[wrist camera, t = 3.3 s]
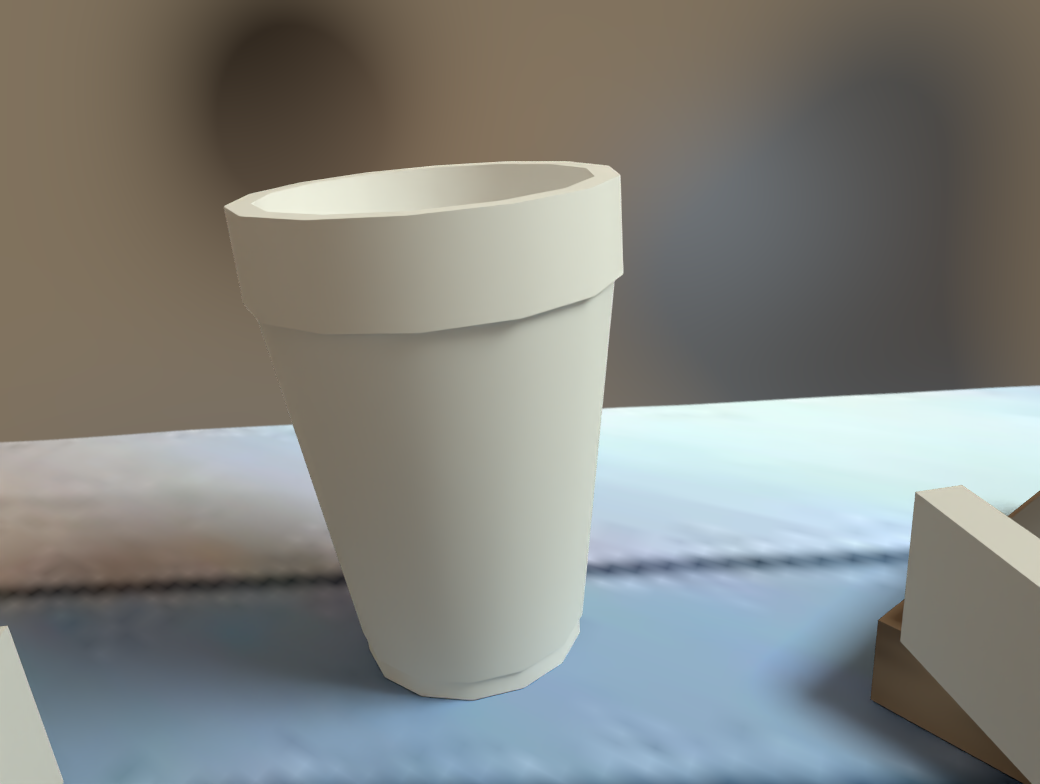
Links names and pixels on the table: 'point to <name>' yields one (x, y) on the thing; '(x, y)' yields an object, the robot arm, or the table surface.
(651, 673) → the table surface
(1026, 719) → the robot arm
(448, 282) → the foam cup
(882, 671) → the stand
